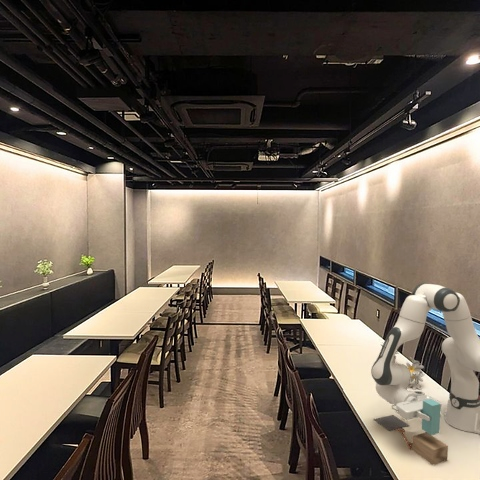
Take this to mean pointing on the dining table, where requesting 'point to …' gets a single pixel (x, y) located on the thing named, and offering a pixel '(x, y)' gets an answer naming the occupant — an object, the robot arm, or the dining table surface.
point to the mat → (391, 422)
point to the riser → (429, 448)
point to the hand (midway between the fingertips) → (435, 417)
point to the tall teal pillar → (434, 411)
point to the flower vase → (415, 369)
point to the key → (404, 437)
